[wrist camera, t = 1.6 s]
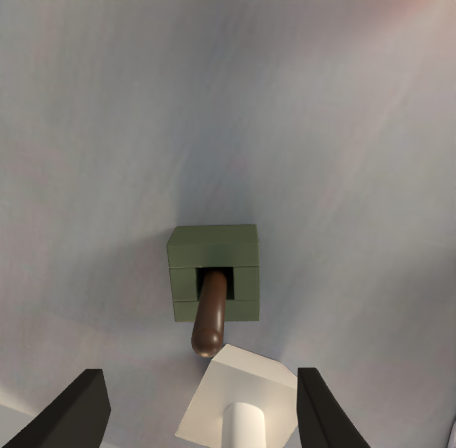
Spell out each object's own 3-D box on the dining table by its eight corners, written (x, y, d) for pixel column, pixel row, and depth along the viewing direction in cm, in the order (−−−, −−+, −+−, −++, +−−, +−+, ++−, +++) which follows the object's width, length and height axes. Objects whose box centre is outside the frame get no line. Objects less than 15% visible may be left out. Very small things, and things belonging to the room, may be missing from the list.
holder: (257, 294, 22) (259, 321, 20) (183, 295, 23) (175, 322, 20) (256, 223, 21) (259, 242, 18) (176, 226, 21) (165, 244, 18)
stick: (228, 270, 22) (222, 364, 14) (208, 270, 22) (190, 365, 14) (228, 251, 21) (221, 338, 13) (206, 251, 21) (187, 338, 13)
